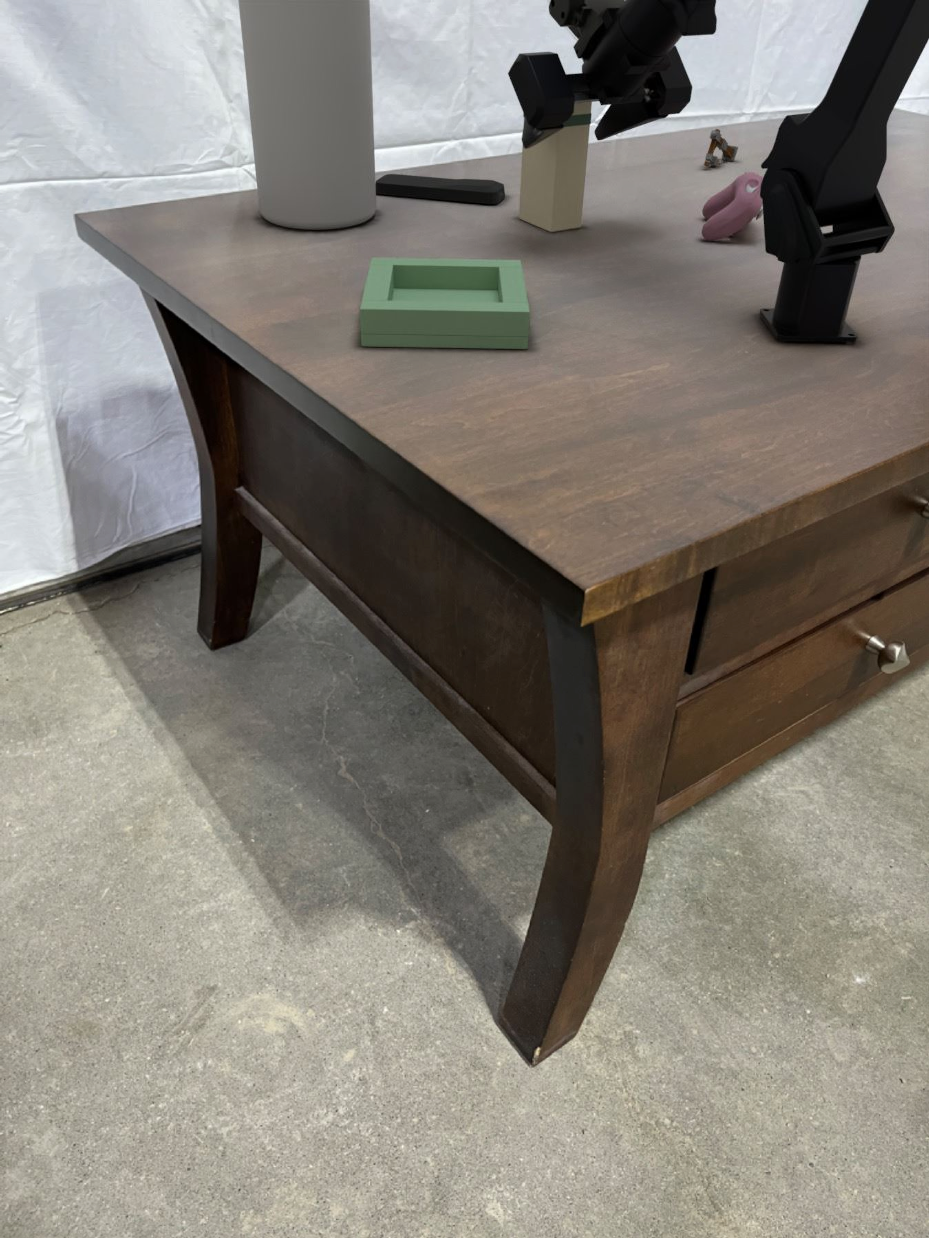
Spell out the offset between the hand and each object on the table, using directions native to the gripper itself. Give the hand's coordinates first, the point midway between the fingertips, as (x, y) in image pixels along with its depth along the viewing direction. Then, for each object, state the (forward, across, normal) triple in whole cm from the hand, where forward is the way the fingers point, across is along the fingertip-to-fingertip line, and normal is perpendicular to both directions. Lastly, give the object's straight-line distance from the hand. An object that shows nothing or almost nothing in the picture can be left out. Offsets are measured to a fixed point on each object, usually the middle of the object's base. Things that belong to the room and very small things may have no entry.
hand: (561, 140), depth 101 cm
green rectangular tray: (-8, +25, +19) cm, 32 cm away
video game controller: (-2, -15, +14) cm, 20 cm away
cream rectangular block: (+7, 0, +5) cm, 8 cm away
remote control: (+18, +4, -6) cm, 19 cm away
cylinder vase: (+17, +21, -4) cm, 27 cm away
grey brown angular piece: (+16, -37, -3) cm, 40 cm away
